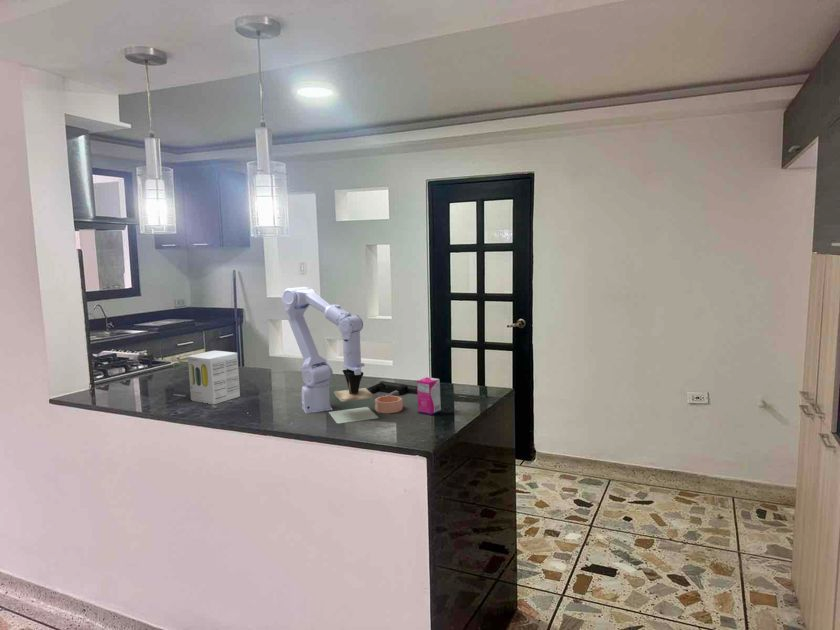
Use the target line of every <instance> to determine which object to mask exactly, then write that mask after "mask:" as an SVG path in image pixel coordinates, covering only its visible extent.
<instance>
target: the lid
mask: <svg viewBox="0 0 840 630" xmlns="http://www.w3.org/2000/svg"><path fill="white" fill-rule="evenodd" d="M333 393H334V396H335V397H336V398H338V400H339V401H340V402H349V401H351V402H352V401H357V400H365V399H374V398H375V395H374V393H371V392H369V391H368V390H367V388H366V387H362V388H360V387H359V391H358V393H352V392H351V388H350V383H349V388H348V389H344V390H335V391H334V392H333Z"/></svg>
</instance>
